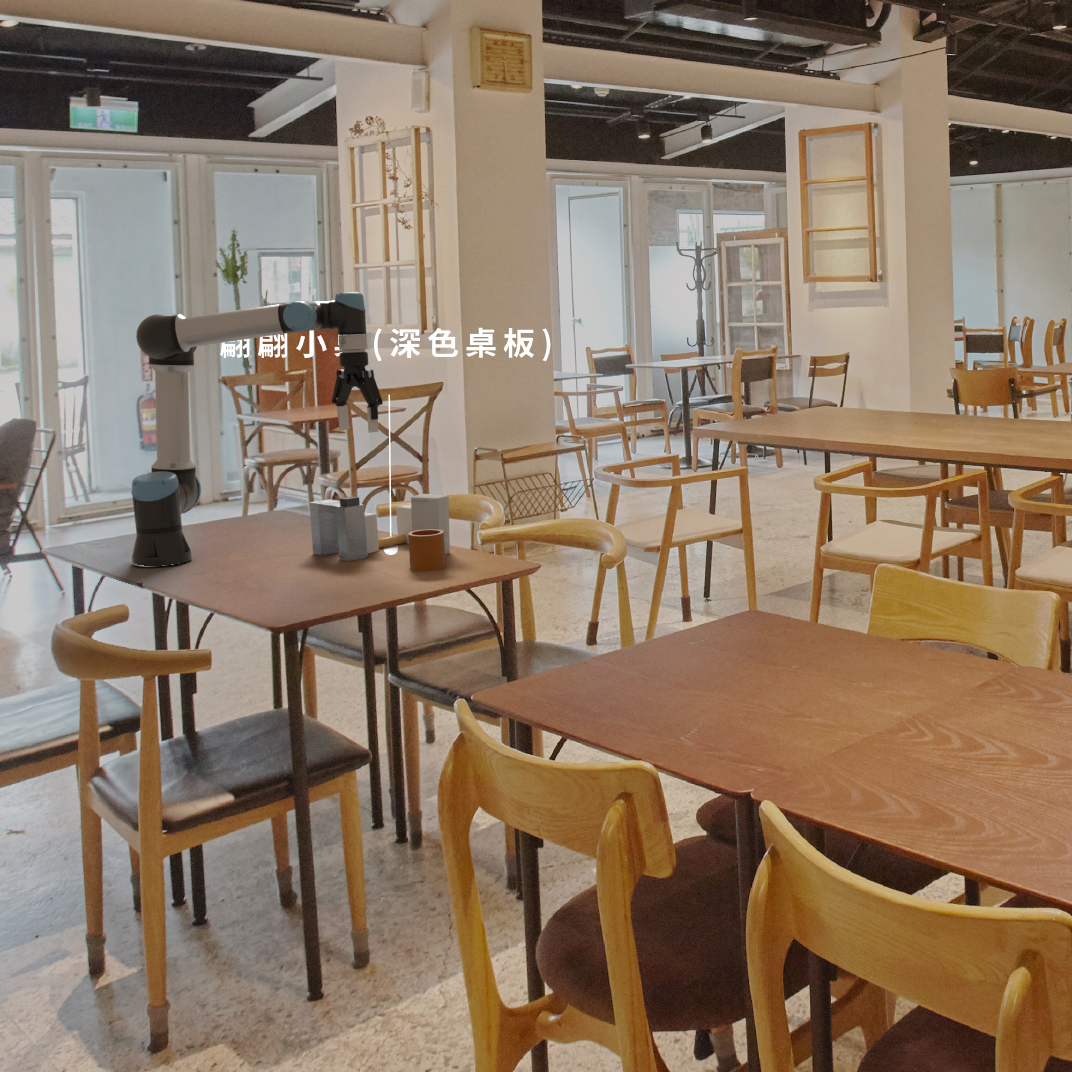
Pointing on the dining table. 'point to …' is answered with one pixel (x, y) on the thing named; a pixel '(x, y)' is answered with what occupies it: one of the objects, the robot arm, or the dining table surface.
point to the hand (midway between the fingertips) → (358, 431)
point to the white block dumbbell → (403, 529)
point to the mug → (427, 550)
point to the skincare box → (431, 514)
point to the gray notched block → (339, 528)
